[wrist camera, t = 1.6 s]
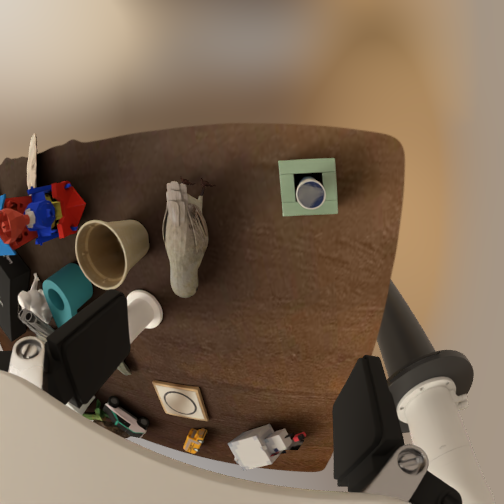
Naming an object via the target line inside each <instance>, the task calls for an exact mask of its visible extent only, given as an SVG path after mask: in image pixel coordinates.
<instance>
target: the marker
mask: <svg viewBox="0 0 504 504" xmlns="http://www.w3.org/2000/svg"><path fill="white" fill-rule="evenodd" d="M296 198H297V201H298V202H299V204H300V205H301V206H302V207H304V208H306V209H317V208H319V207H320V206H321V205H322V204H323V203H324V201H325V198H326V192H325V189H324V187H323V185H322V184H321V183H320V182H318V181H317V180H316V179H315V178H313V177H312V176H305V177H303V178H302V179H301V180H300V182H299V185H298V187H297V191H296Z"/></svg>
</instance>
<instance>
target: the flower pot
mask: <svg viewBox="0 0 504 504" xmlns="http://www.w3.org/2000/svg"><path fill="white" fill-rule="evenodd" d="M148 249H149V238H148V233H147V231H146V229H145V228H144V226H143V225H142V224H141V223H139V222H138V221H135V220H124V221H116V222H104V221H101V220H91V221H88V222H86V223H85V224H83V225H82V227H81V228H80V229H79V231H78V234H77V237H76V245H75V252H76V257H77V261H78V263H79V266H80V268H81V270H82V272H83V273H84V275H85V276H86V277H87V279H89V281H91V282H92V283H93V284H94V285H96V286H97V287H99V288H102V289H105V290H109V289H115V288H117V287H118V286H120V285H121V284H122V283H123V281H124V280H125V278H126V275H127V273H128V271H129V270H130V269H131V268H132V267H133V266H134V265H135V264H136V263H137V262H138V261H139V260H140V259H141V258H142V257H144V256H145V255H146V253H147V252H148Z"/></svg>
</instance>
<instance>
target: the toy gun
mask: <svg viewBox="0 0 504 504" xmlns="http://www.w3.org/2000/svg"><path fill="white" fill-rule="evenodd" d="M19 318H20V320H21V321H22V322H23V323H24V324H26V325H27V326H28V327H29V328H30V330H32V331H33V332H35V334H36V336H37V338H39V339H41V340H42V341H43V343H44V344H45V343H46V342H47V340H46V337H48V336H49V335H50V334H51V333H53V332H54V331H55V330H54V329H53V328H51V326H49V325H48V324H47V323H45V322H43V321H42V320H41V319H40V318H38V317H37V316H36V315H35V314H34V313H33V312H32V311H30V310H28V309H26V308H24V309H22V310H21V311H20V313H19Z"/></svg>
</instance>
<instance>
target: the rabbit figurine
mask: <svg viewBox="0 0 504 504" xmlns="http://www.w3.org/2000/svg"><path fill="white" fill-rule="evenodd" d="M34 277H35V279H34V282H33V284H32V287H31V289H30V290H29V291H28V292H26V291H21V292H20V293H19V295H18V302H19V304H20V305H21V306H22V309H24V308H26V309H28V310H30V311H32V312H33V313H34V314H35V315H36V316H37V317H38V318H40V319H41V320H42V321H43V322H45V323H47V324H49V323H50V321H51V318H52V313H51V311H50V308H49V306H48V304H47V301H46V298H45V296H44V293H43V290H42V289H39V290H38V291H37V286H38V281H40V279H38V278H39V277H37V274H34Z"/></svg>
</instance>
